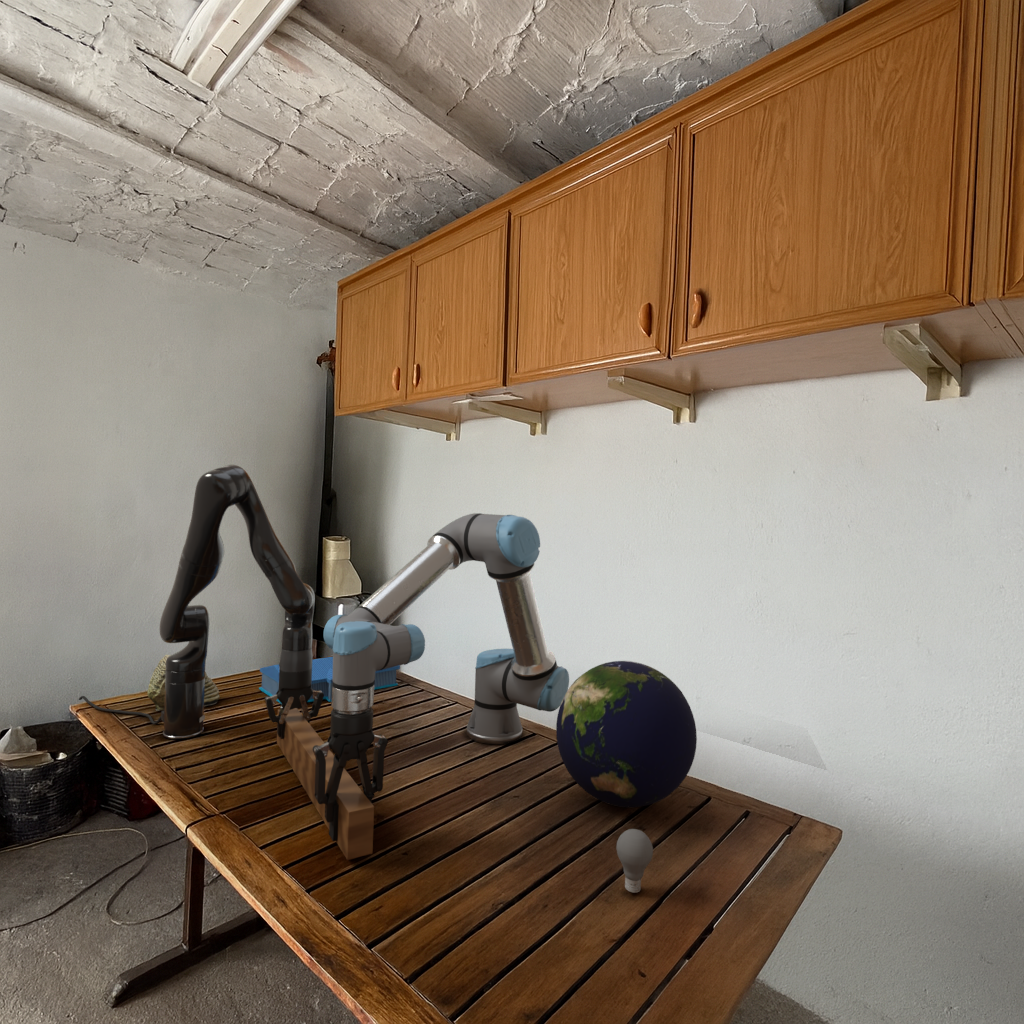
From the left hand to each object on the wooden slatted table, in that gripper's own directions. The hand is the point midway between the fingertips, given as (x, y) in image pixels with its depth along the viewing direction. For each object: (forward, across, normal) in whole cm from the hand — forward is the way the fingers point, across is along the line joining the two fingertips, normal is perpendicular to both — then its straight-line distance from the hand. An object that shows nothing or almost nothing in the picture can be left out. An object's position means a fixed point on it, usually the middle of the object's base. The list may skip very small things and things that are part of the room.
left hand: (293, 735), depth 154 cm
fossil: (+5, -20, +49) cm, 53 cm away
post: (+4, 0, -22) cm, 22 cm away
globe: (+5, +58, -54) cm, 79 cm away
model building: (+5, +24, +49) cm, 55 cm away
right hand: (+3, 0, -44) cm, 44 cm away
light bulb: (+4, +38, -80) cm, 88 cm away
